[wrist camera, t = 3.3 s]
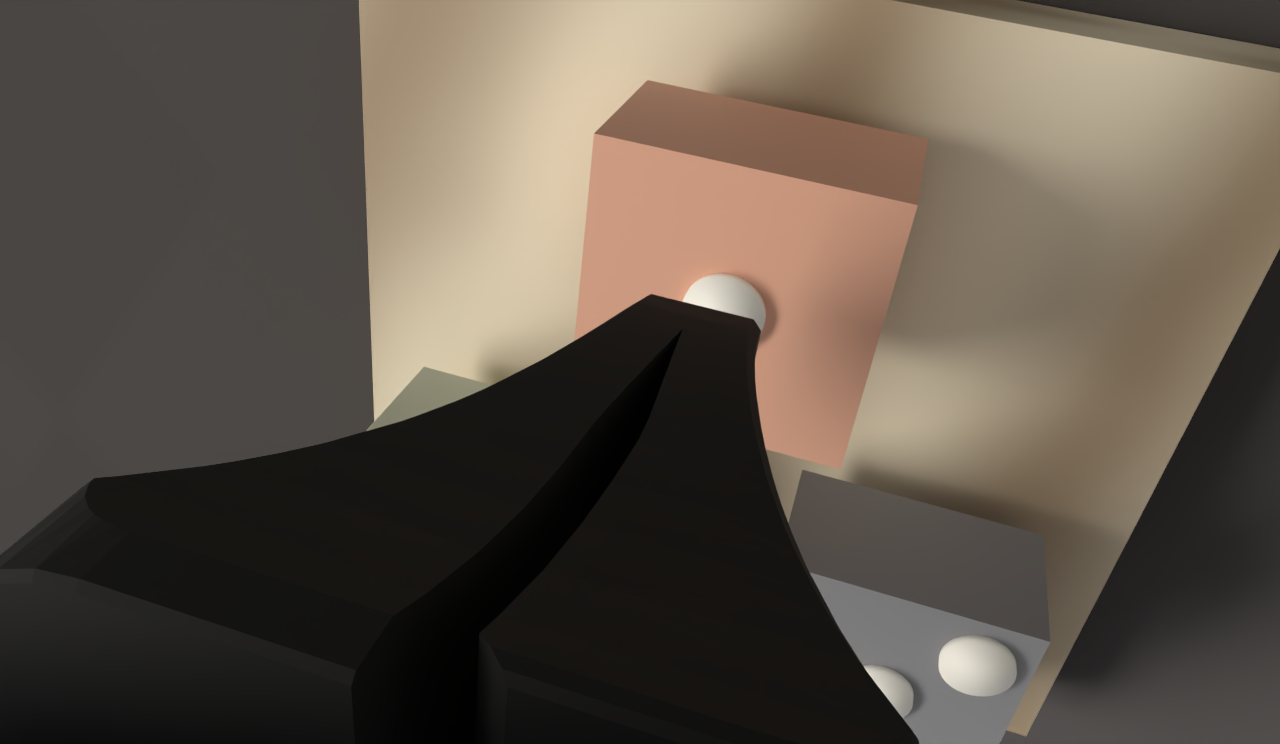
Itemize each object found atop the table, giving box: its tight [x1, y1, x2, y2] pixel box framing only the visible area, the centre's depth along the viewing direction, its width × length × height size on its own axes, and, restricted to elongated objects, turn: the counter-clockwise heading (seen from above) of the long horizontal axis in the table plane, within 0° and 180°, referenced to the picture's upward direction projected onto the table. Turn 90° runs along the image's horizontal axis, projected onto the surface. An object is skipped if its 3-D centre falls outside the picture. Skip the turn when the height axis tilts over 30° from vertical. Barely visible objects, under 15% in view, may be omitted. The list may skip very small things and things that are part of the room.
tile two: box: [366, 367, 491, 431], centre depth 18 cm, size 4×4×3 cm
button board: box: [359, 0, 1280, 736], centre depth 18 cm, size 14×13×2 cm
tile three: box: [788, 470, 1050, 744], centre depth 17 cm, size 4×4×3 cm
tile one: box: [574, 80, 928, 469], centre depth 14 cm, size 4×4×3 cm
